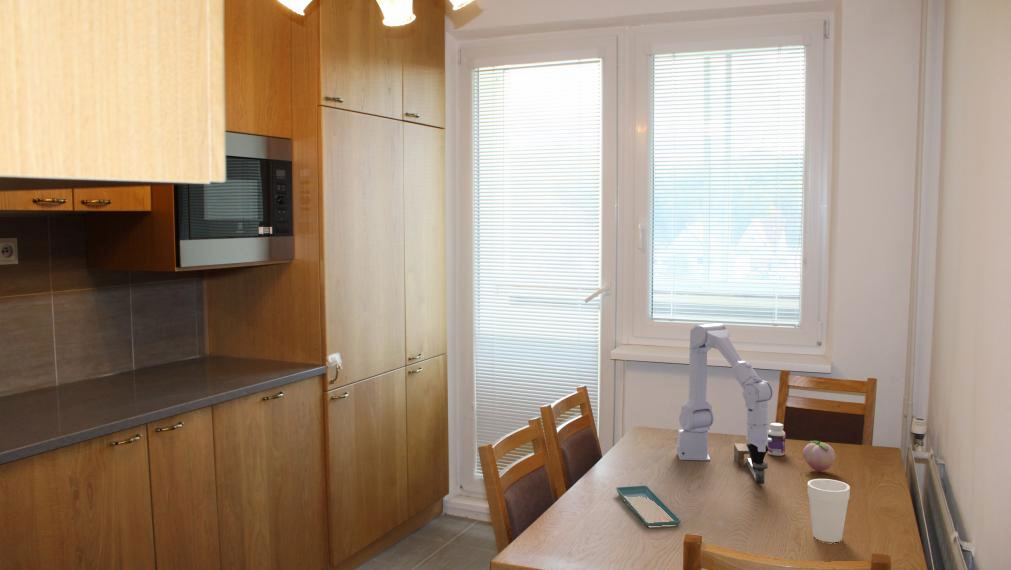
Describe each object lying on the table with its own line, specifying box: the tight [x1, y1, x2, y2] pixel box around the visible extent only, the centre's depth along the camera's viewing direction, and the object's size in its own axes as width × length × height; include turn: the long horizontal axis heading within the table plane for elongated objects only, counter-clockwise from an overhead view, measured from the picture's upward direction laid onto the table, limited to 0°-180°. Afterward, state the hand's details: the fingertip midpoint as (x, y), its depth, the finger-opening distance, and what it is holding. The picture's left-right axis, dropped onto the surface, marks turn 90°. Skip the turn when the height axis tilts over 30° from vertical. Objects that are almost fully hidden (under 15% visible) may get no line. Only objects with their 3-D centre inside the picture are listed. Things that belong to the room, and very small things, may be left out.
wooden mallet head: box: [733, 443, 751, 468], centre depth 254 cm, size 7×8×5 cm
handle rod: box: [746, 457, 768, 485], centre depth 239 cm, size 4×18×6 cm, turn 173°
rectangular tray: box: [615, 485, 682, 527], centre depth 215 cm, size 26×9×2 cm, turn 9°
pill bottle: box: [767, 422, 786, 457], centre depth 263 cm, size 5×5×10 cm
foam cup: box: [806, 478, 851, 542], centre depth 194 cm, size 10×9×13 cm
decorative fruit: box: [802, 439, 836, 473], centre depth 244 cm, size 9×8×10 cm
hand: (757, 469), depth 237 cm, fingers closed, pressing on handle rod
